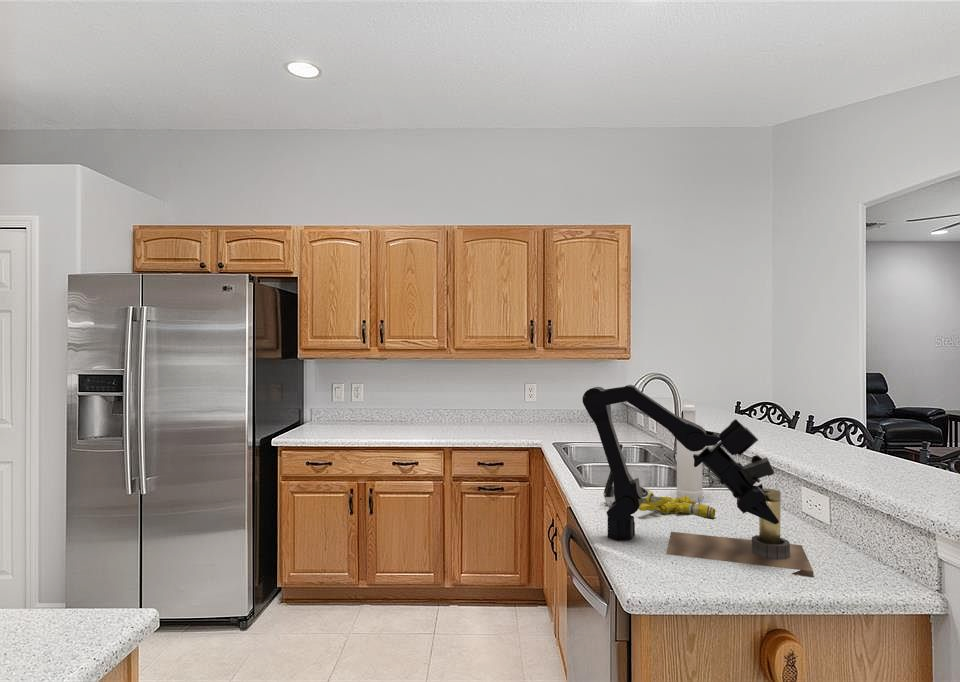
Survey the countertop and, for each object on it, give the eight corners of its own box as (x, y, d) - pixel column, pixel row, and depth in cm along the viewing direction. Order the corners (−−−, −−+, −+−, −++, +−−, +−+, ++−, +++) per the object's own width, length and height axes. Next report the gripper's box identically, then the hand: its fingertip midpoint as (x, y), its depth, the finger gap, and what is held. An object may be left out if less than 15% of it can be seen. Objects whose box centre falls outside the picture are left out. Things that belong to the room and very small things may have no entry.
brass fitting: (773, 551, 137) (773, 494, 137) (755, 546, 141) (755, 490, 141) (784, 548, 140) (784, 491, 140) (765, 542, 143) (766, 487, 143)
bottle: (708, 500, 192) (708, 406, 193) (688, 503, 189) (688, 407, 189) (690, 495, 200) (690, 403, 200) (671, 497, 197) (671, 404, 197)
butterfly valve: (642, 496, 197) (595, 495, 191) (658, 440, 191) (610, 438, 186) (657, 511, 189) (608, 511, 183) (674, 453, 184) (624, 451, 178)
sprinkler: (723, 511, 181) (657, 499, 193) (723, 490, 180) (657, 479, 192) (701, 536, 163) (630, 521, 175) (701, 513, 162) (630, 499, 174)
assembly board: (666, 559, 140) (666, 540, 140) (670, 536, 157) (670, 519, 157) (813, 576, 129) (813, 557, 129) (801, 550, 146) (801, 532, 146)
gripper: (754, 452, 133) (810, 508, 129) (749, 440, 151) (798, 488, 147) (715, 485, 136) (769, 540, 132) (714, 469, 153) (762, 517, 149)
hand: (776, 520), depth 140 cm, fingers closed on brass fitting, 4 cm apart
